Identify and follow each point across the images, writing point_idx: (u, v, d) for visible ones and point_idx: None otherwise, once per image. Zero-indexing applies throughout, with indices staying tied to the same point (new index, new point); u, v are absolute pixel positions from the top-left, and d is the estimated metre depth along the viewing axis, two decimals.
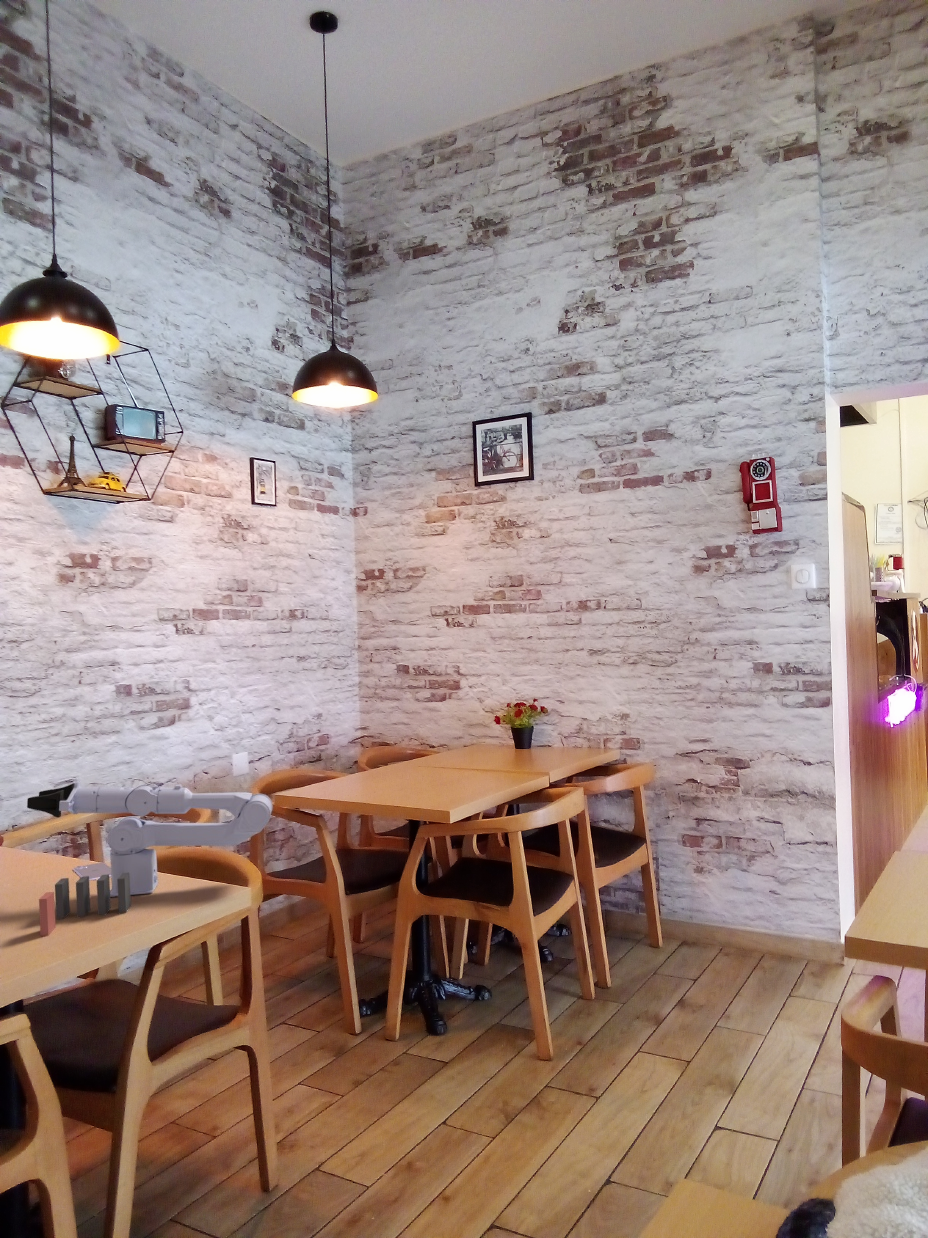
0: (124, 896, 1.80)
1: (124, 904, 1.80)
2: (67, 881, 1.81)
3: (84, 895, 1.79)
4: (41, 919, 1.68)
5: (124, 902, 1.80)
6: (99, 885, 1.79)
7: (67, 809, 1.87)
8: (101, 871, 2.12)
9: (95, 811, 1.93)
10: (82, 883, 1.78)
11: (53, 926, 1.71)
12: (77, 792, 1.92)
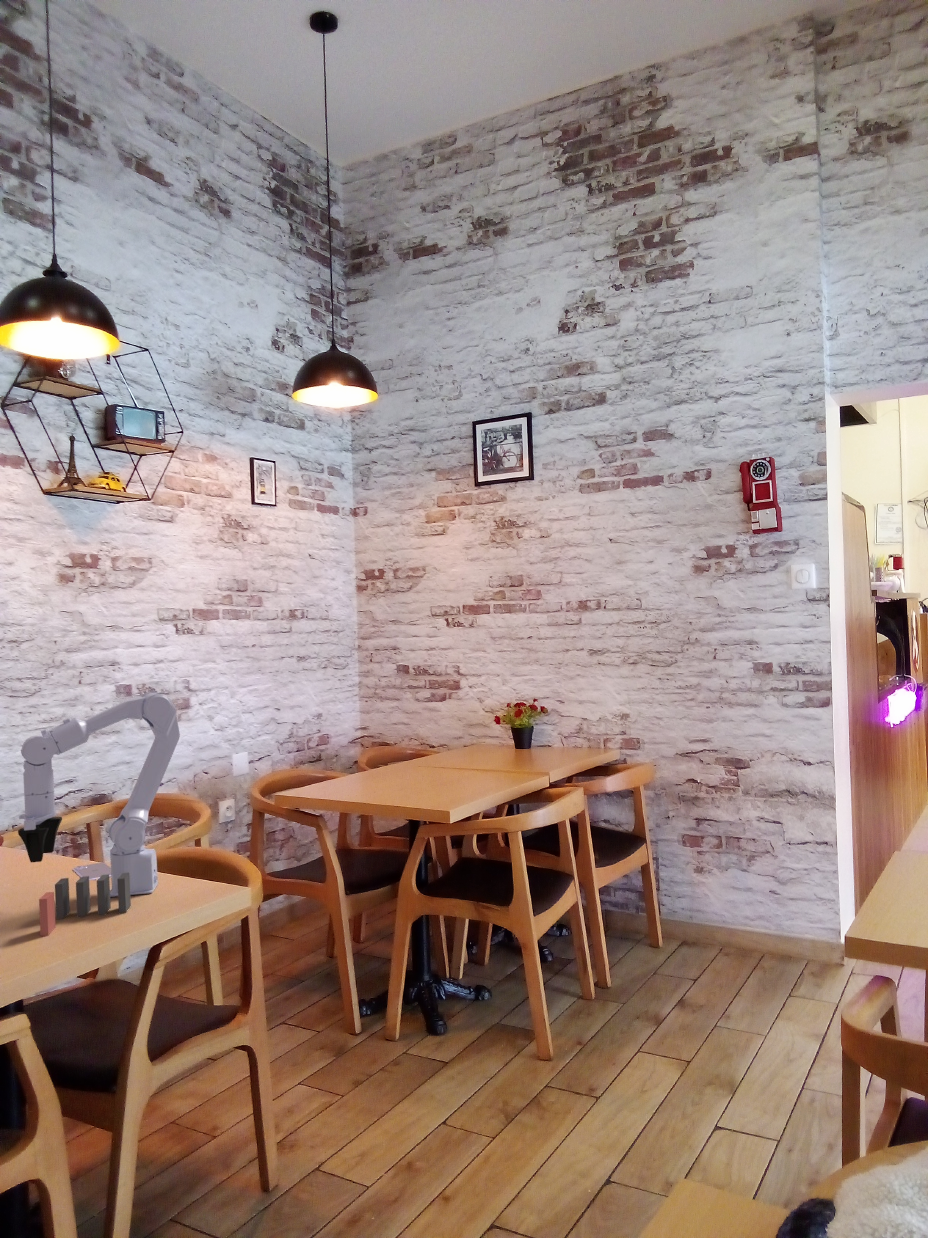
0: (124, 896, 1.80)
1: (124, 904, 1.80)
2: (67, 881, 1.81)
3: (84, 895, 1.79)
4: (41, 919, 1.68)
5: (124, 902, 1.80)
6: (99, 885, 1.79)
7: (32, 821, 1.80)
8: (101, 871, 2.12)
9: (47, 794, 1.86)
10: (82, 883, 1.78)
11: (53, 926, 1.71)
12: (26, 815, 1.85)
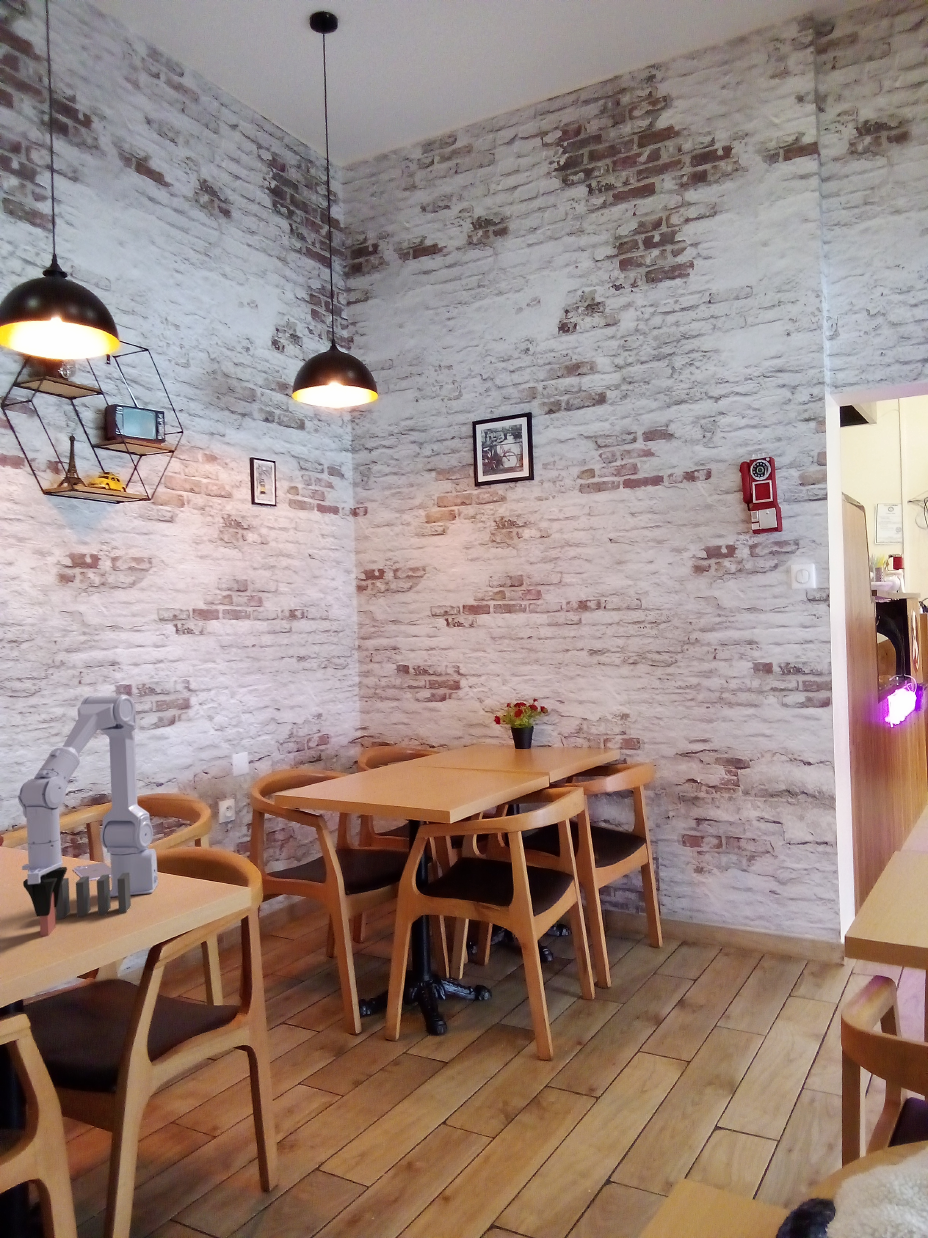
0: (124, 896, 1.80)
1: (124, 904, 1.80)
2: (67, 881, 1.81)
3: (84, 895, 1.79)
4: (41, 919, 1.68)
5: (124, 902, 1.80)
6: (99, 885, 1.79)
7: (36, 874, 1.63)
8: (101, 871, 2.12)
9: (52, 843, 1.69)
10: (82, 883, 1.78)
11: (53, 926, 1.71)
12: (30, 865, 1.68)
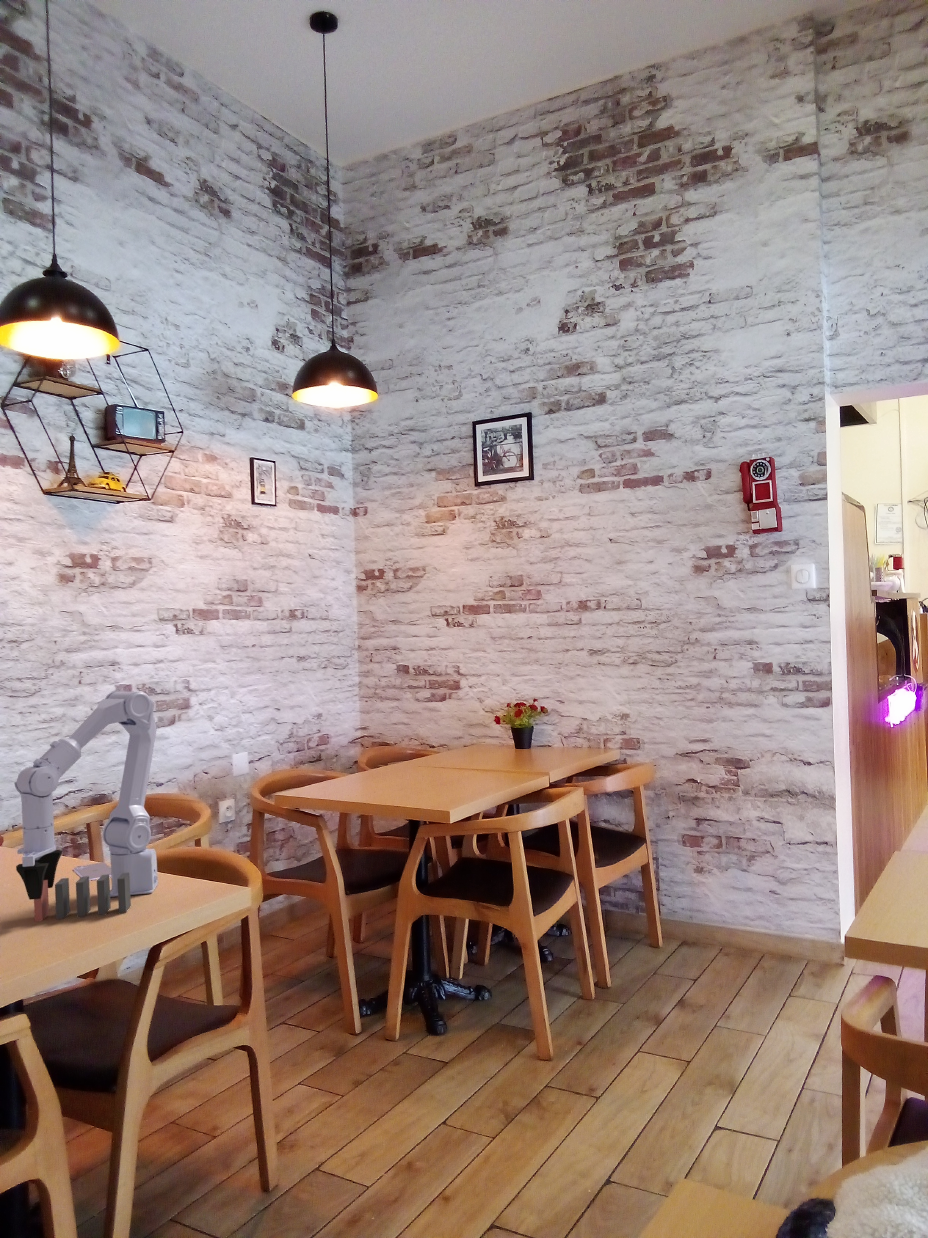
0: (124, 896, 1.80)
1: (124, 904, 1.80)
2: (67, 881, 1.81)
3: (84, 895, 1.79)
4: (35, 905, 1.77)
5: (124, 902, 1.80)
6: (99, 885, 1.79)
7: (31, 857, 1.72)
8: (101, 871, 2.12)
9: (46, 828, 1.78)
10: (82, 883, 1.78)
11: (47, 912, 1.80)
12: (25, 849, 1.77)
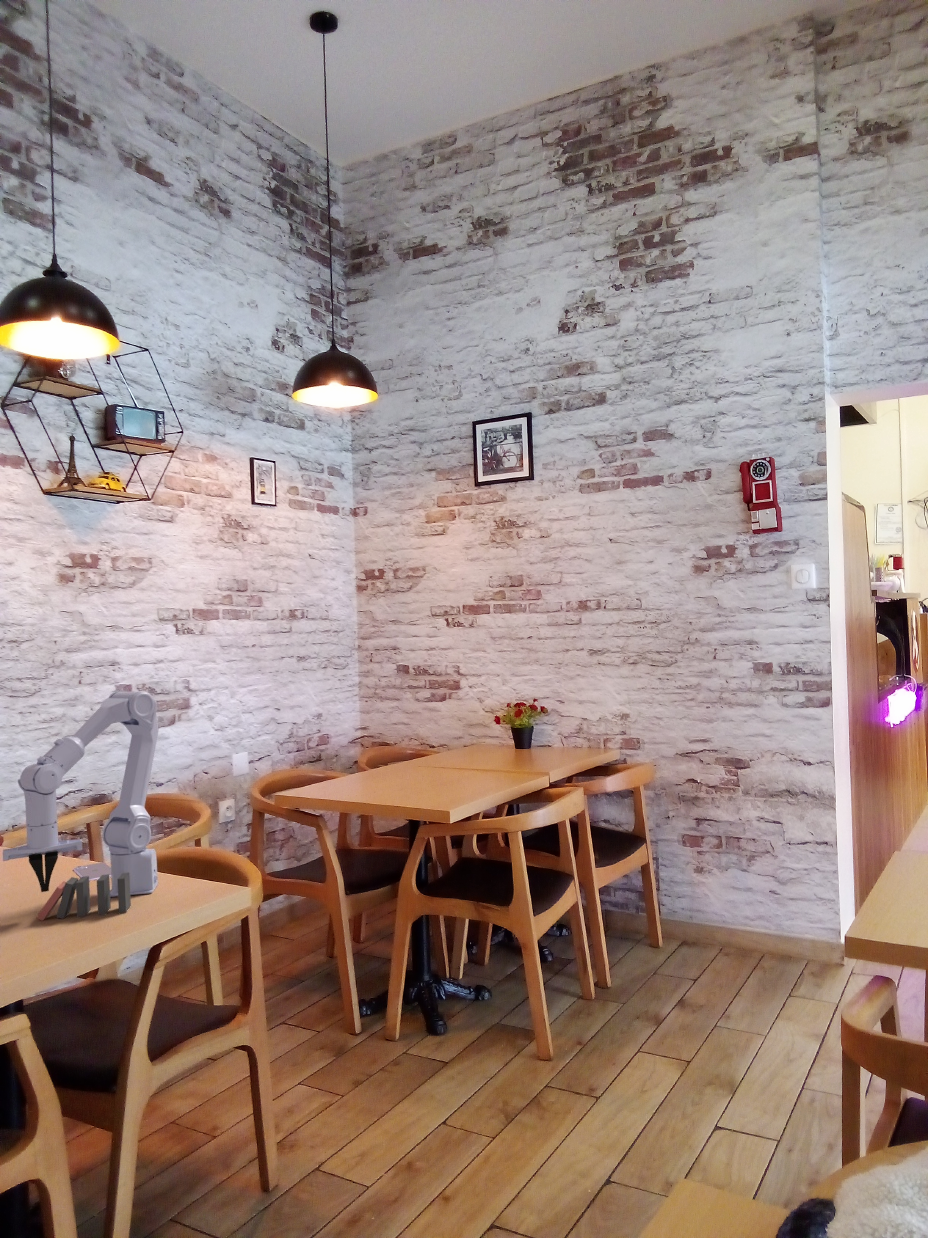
0: (124, 896, 1.80)
1: (124, 904, 1.80)
2: (76, 881, 1.82)
3: (84, 895, 1.79)
4: (47, 904, 1.77)
5: (124, 902, 1.80)
6: (99, 885, 1.79)
7: None
8: (101, 871, 2.11)
9: (31, 828, 1.77)
10: (82, 883, 1.78)
11: (49, 913, 1.80)
12: None
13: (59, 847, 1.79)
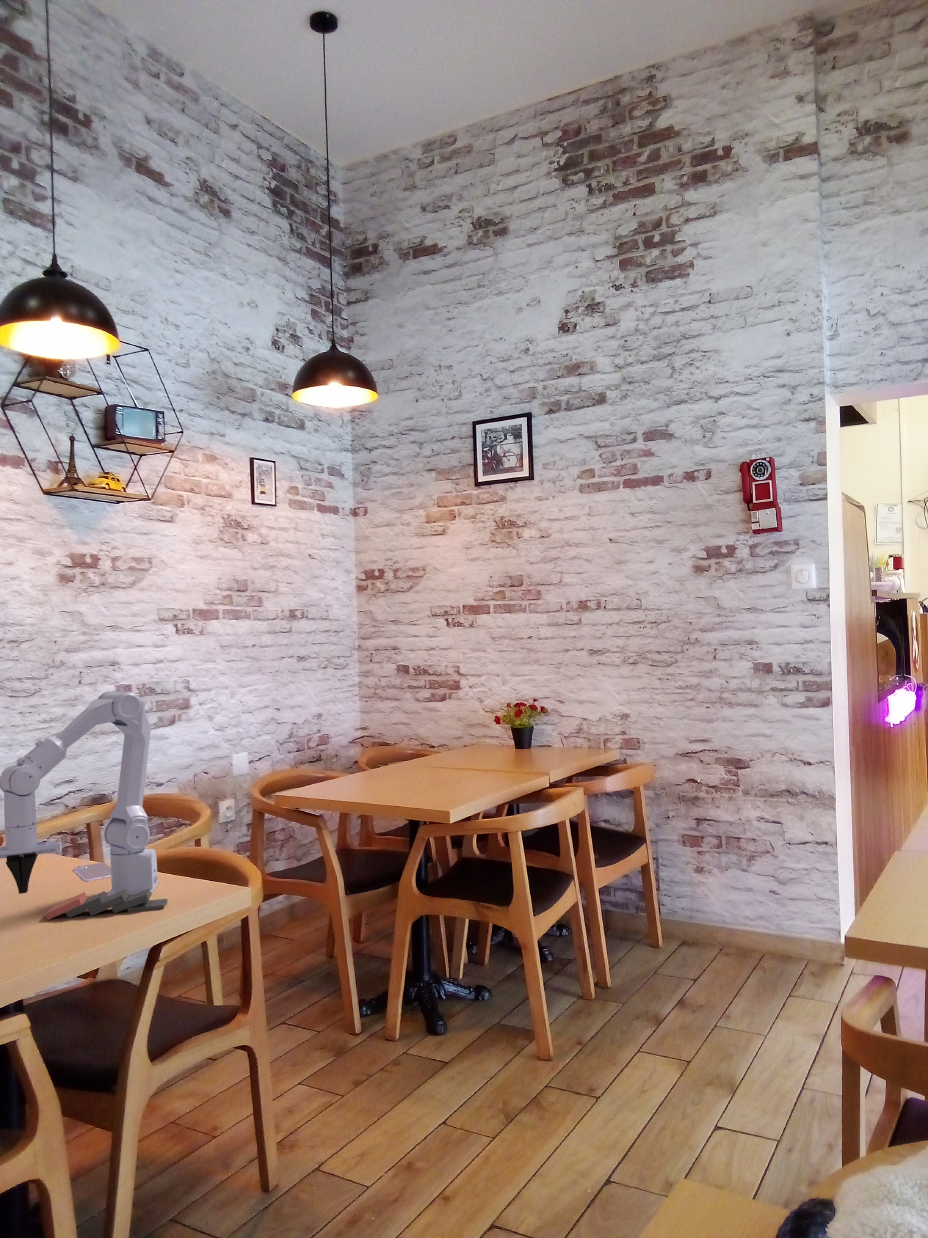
0: None
1: None
2: None
3: (111, 906, 1.80)
4: (60, 908, 1.78)
5: None
6: (142, 898, 1.81)
7: None
8: (101, 871, 2.11)
9: (8, 829, 1.76)
10: (123, 901, 1.80)
11: None
12: None
13: (36, 849, 1.78)
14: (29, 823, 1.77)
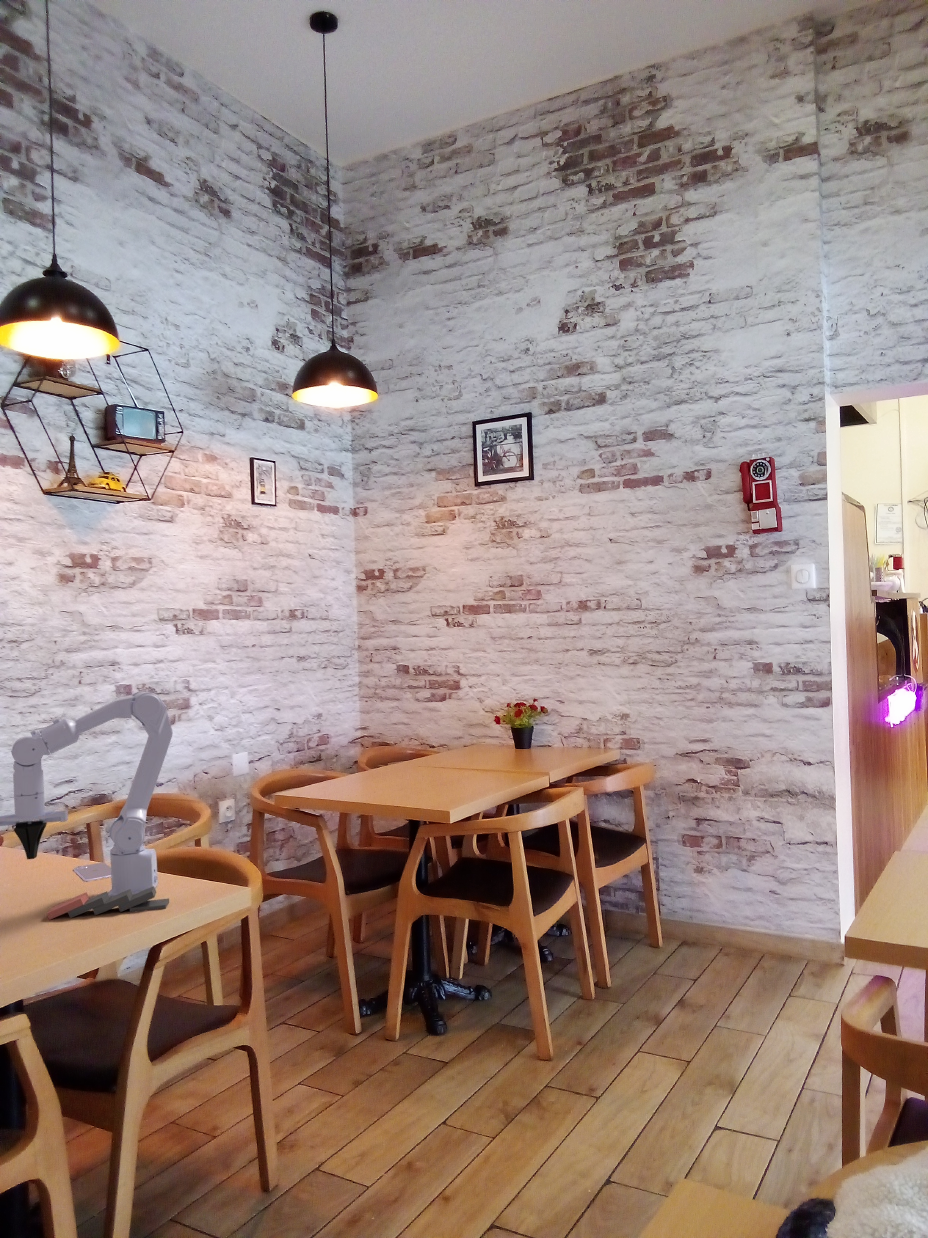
0: None
1: None
2: (106, 899, 1.83)
3: None
4: (62, 908, 1.78)
5: None
6: (148, 895, 1.81)
7: None
8: (101, 871, 2.11)
9: (16, 797, 1.84)
10: (128, 901, 1.80)
11: None
12: None
13: (42, 817, 1.85)
14: (32, 793, 1.84)
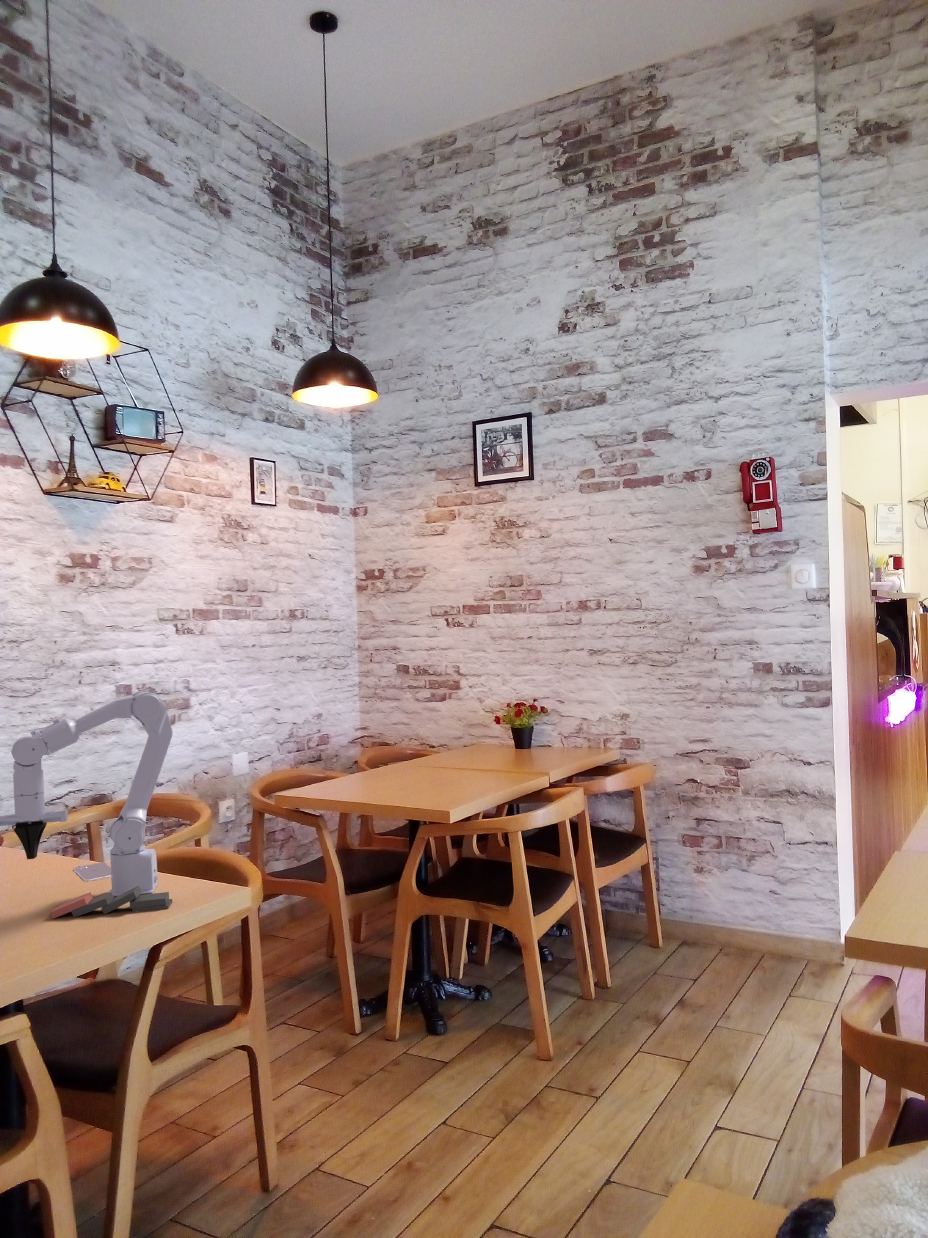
0: None
1: None
2: (110, 900, 1.83)
3: (124, 903, 1.80)
4: (66, 907, 1.78)
5: None
6: (160, 901, 1.81)
7: None
8: (101, 871, 2.11)
9: (16, 797, 1.84)
10: (135, 897, 1.80)
11: None
12: None
13: (42, 817, 1.85)
14: (32, 792, 1.84)
